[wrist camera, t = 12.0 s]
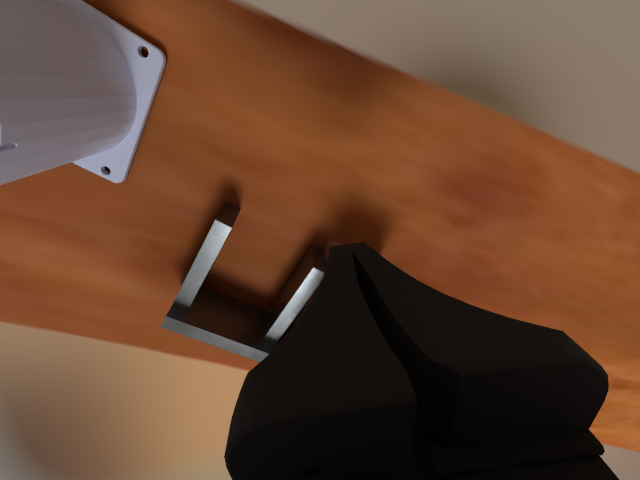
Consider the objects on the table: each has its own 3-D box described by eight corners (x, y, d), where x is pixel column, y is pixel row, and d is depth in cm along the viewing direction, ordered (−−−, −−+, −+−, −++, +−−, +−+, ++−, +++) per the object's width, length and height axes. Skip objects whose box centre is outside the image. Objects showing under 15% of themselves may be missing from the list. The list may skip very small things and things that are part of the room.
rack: (182, 289, 22) (154, 337, 18) (226, 201, 19) (206, 233, 15) (392, 373, 28) (409, 424, 24) (450, 316, 25) (481, 362, 21)
